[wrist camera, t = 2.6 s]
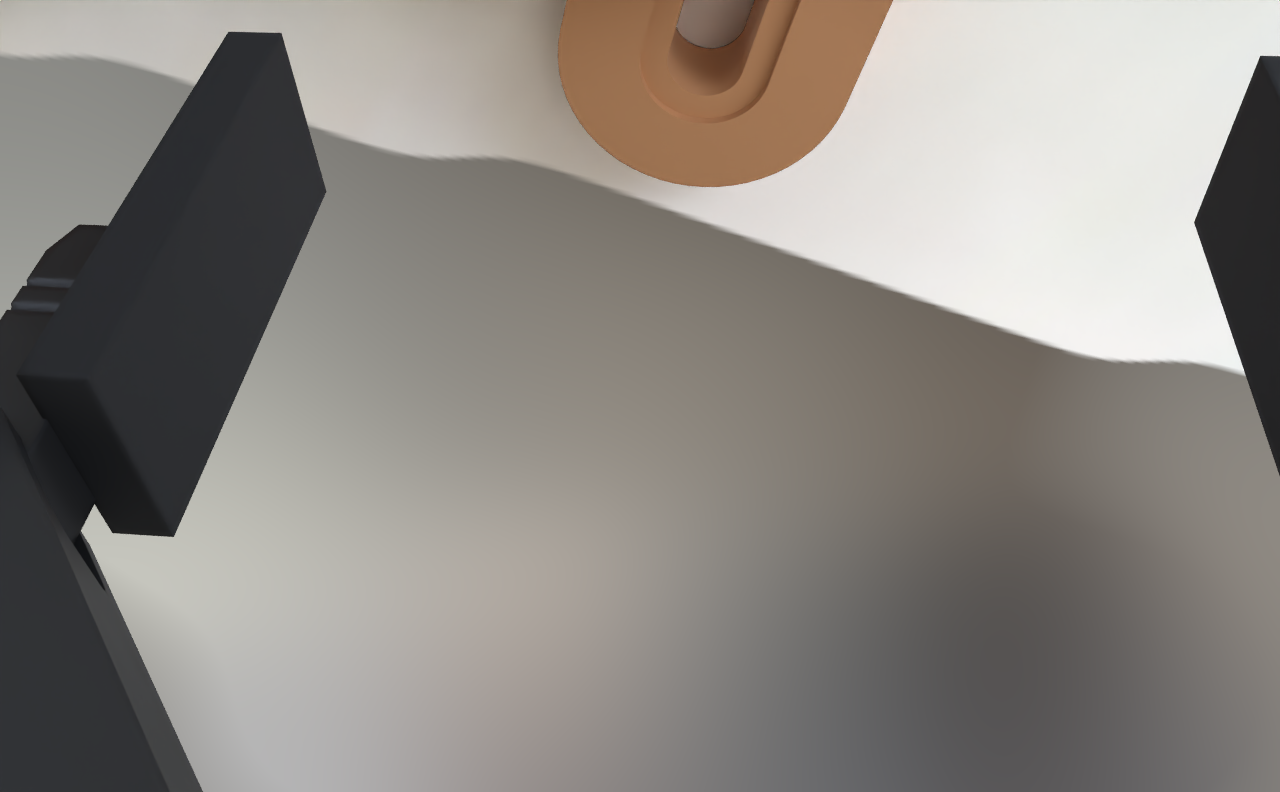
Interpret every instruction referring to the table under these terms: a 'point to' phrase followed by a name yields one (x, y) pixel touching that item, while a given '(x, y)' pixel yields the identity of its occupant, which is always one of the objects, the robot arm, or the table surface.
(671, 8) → the bracket
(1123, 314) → the table surface
